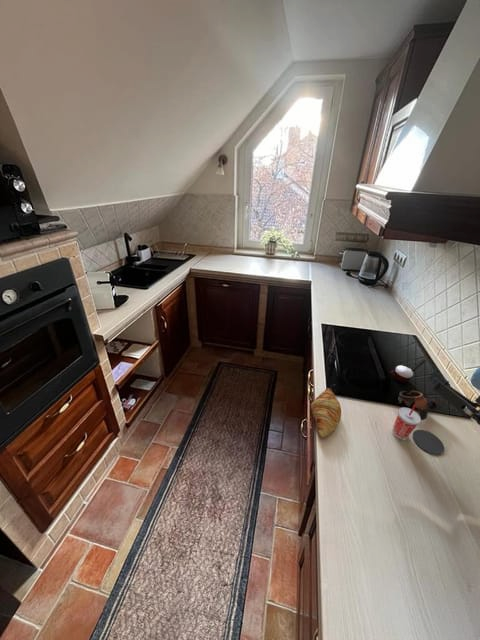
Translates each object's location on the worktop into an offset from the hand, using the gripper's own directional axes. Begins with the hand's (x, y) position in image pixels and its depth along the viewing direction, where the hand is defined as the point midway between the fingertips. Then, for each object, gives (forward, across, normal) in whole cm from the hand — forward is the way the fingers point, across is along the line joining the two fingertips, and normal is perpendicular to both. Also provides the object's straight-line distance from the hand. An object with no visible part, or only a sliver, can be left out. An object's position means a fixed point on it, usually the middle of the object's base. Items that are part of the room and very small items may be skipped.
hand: (455, 386), depth 70 cm
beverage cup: (+5, +2, -24) cm, 25 cm away
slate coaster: (+4, +9, -22) cm, 24 cm away
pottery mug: (+17, +8, -19) cm, 27 cm away
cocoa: (+33, +8, -16) cm, 37 cm away
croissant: (+7, -21, -32) cm, 39 cm away
